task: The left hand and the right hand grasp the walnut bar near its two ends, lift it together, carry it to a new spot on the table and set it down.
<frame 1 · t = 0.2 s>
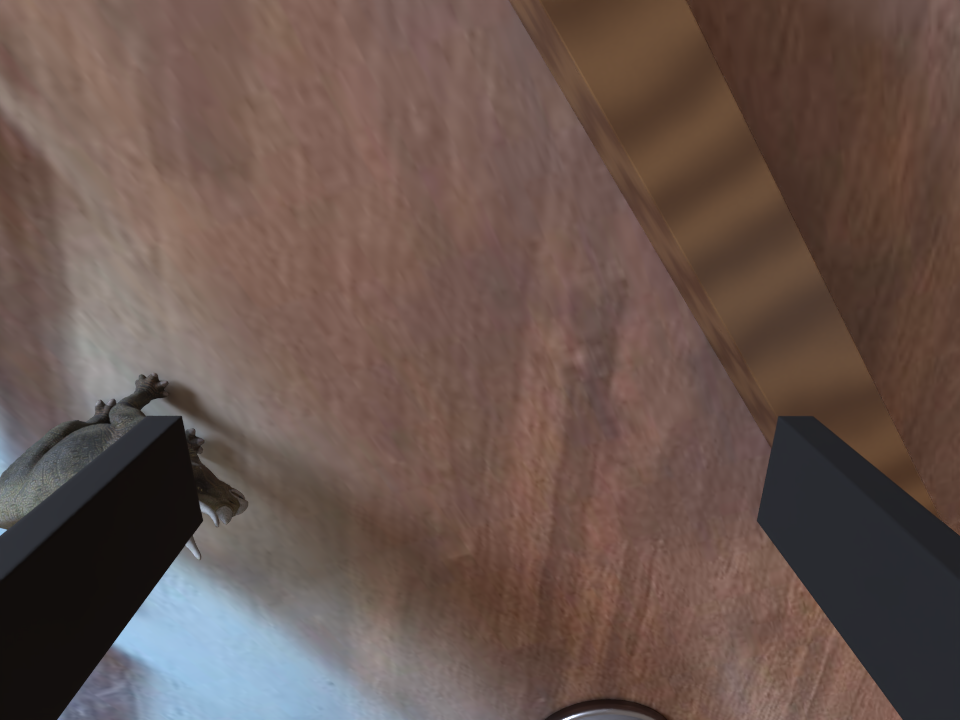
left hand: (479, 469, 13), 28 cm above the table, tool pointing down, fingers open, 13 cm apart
bar: (702, 243, 39), on the table
toy dinosaur: (132, 427, 44), on the table
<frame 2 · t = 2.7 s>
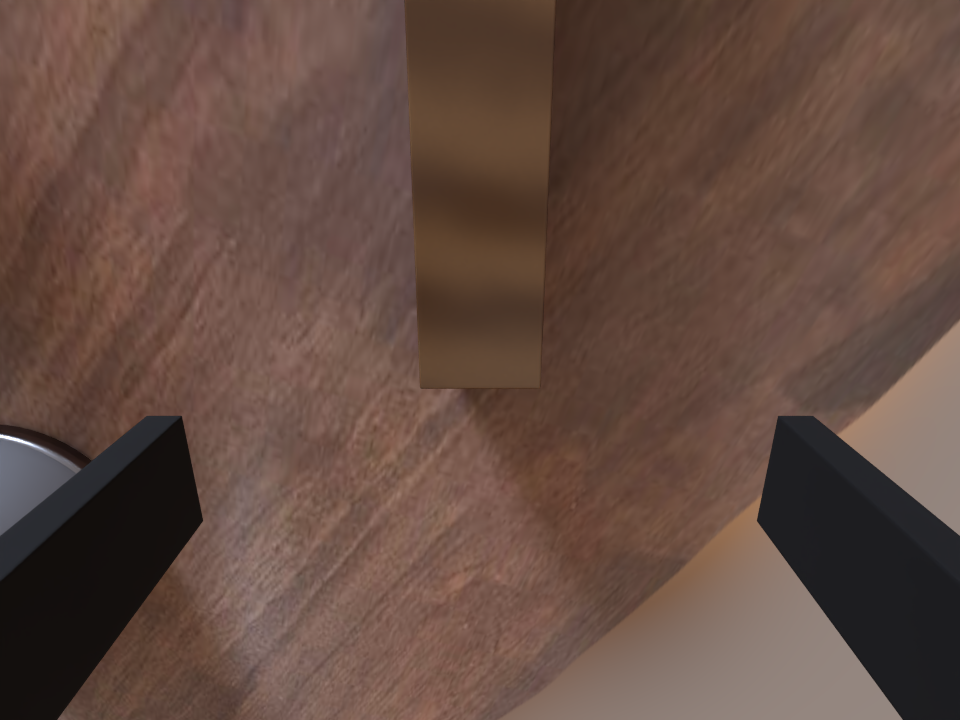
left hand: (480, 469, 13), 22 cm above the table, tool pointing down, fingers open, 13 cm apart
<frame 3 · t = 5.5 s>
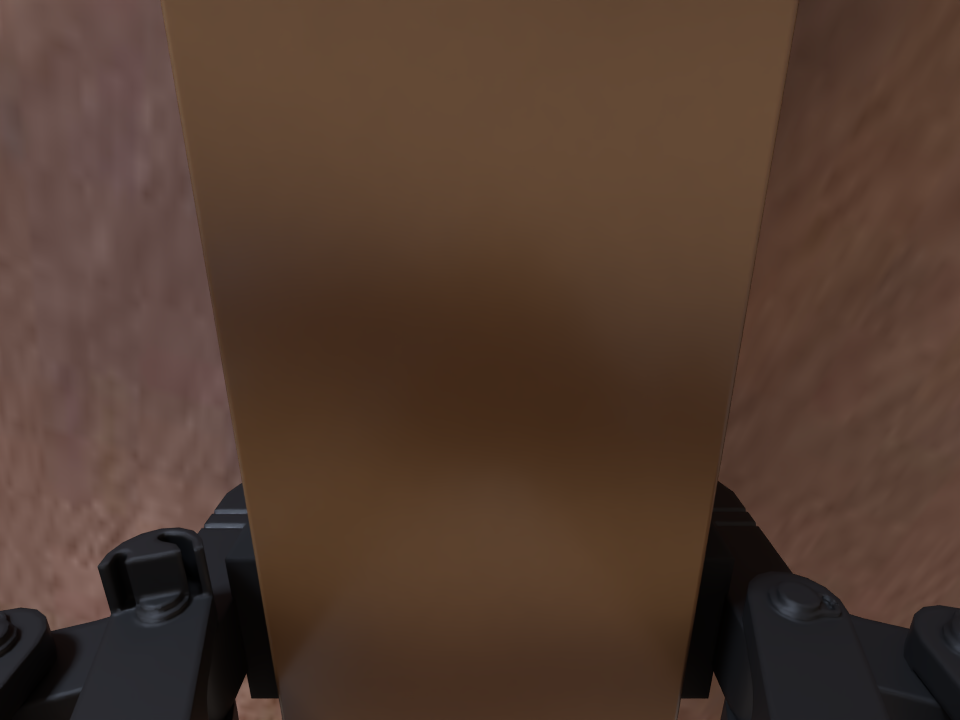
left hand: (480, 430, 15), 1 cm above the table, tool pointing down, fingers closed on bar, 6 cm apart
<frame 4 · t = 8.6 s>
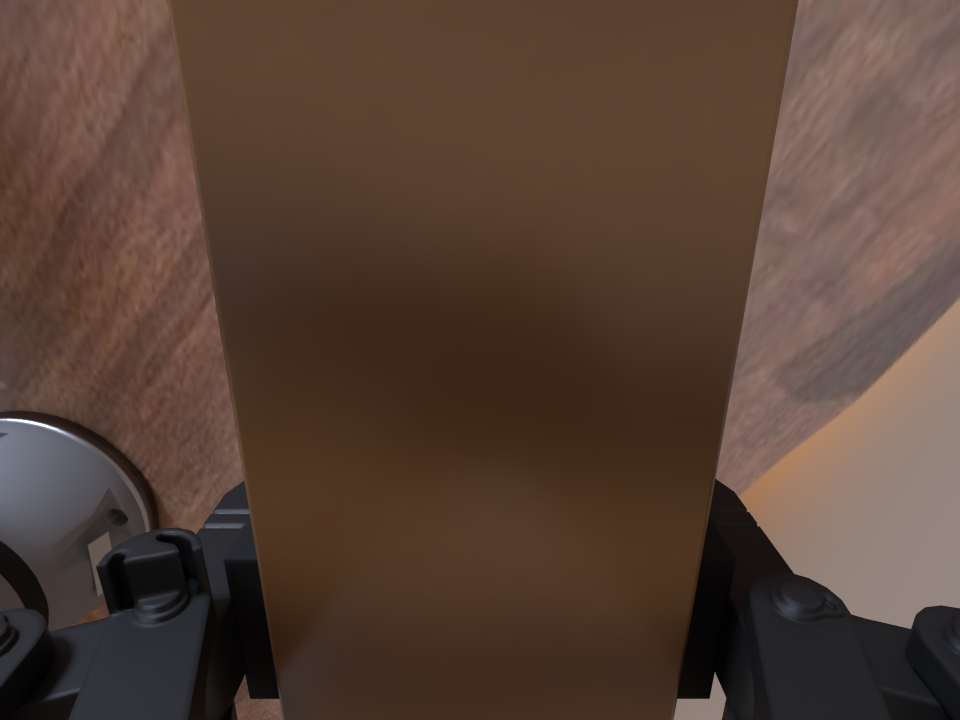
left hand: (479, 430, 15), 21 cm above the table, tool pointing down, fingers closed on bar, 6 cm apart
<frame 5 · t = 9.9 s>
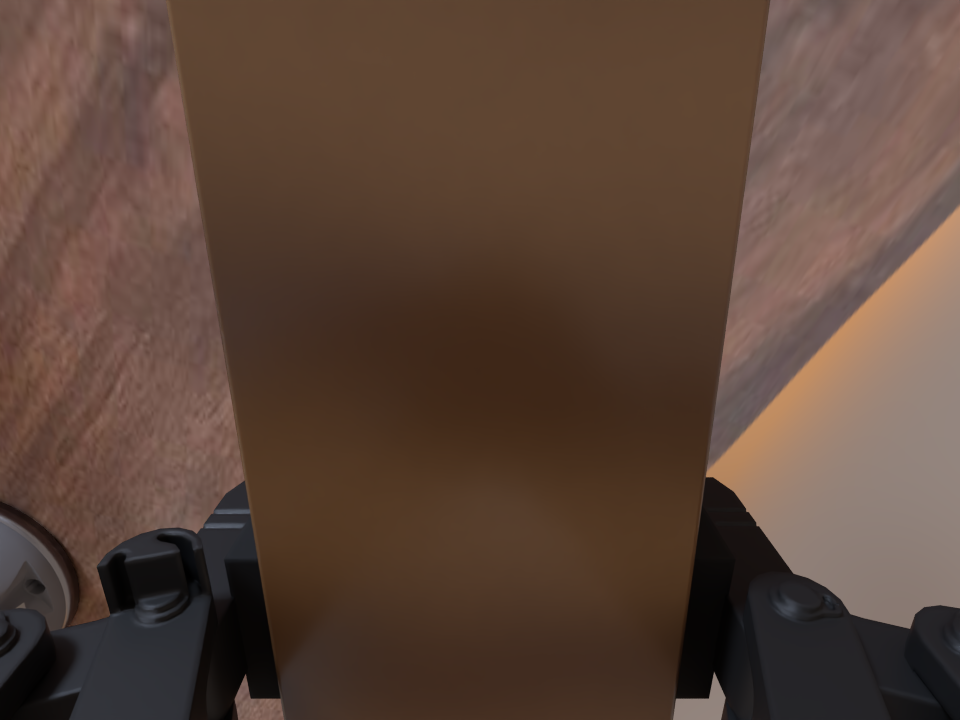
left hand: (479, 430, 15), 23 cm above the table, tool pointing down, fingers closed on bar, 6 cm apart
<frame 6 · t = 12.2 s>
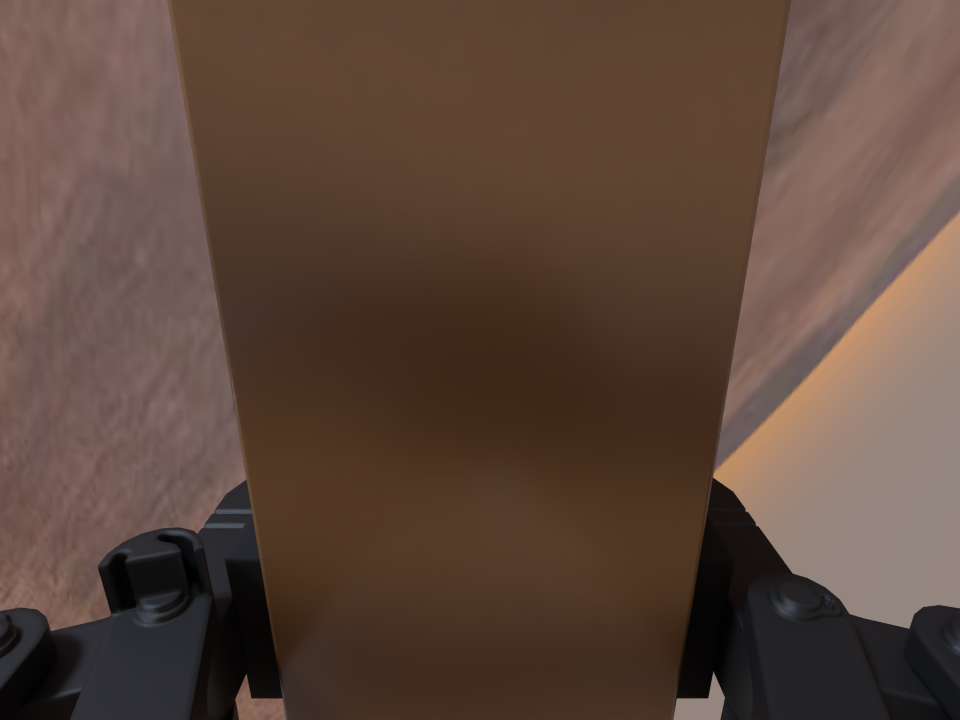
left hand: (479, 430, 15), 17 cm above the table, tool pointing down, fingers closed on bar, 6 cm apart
when the left hand's fingers open (2 cm above the table, at t = 14.3 s): bar drops 1 cm, on the table.
when the right hand's fingers open (2 cm above the table, at t = 14.3 s): bar drops 1 cm, on the table.
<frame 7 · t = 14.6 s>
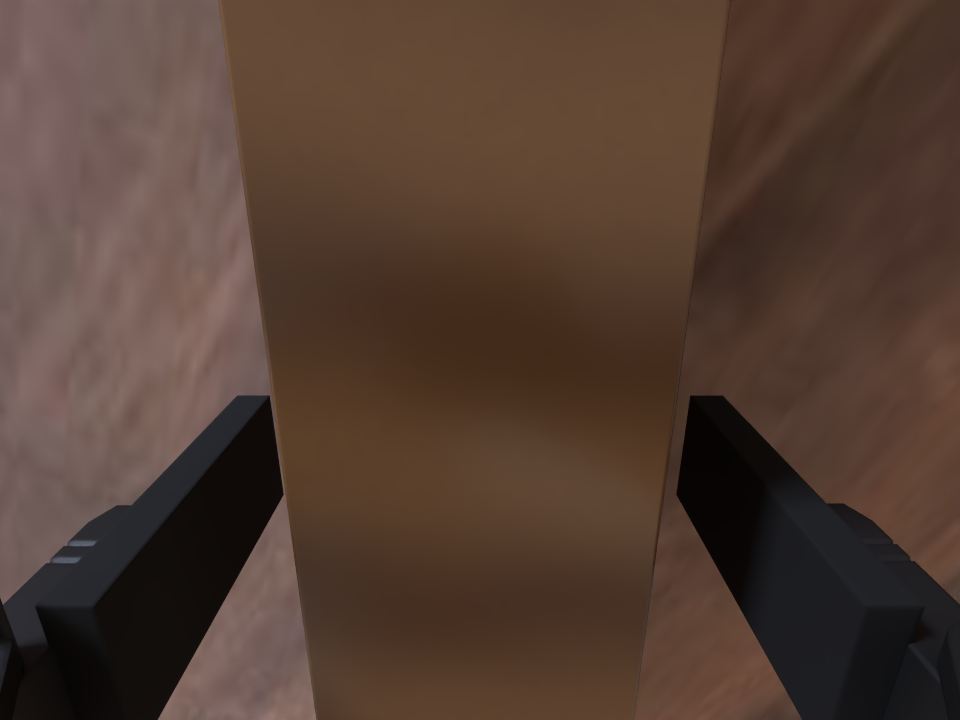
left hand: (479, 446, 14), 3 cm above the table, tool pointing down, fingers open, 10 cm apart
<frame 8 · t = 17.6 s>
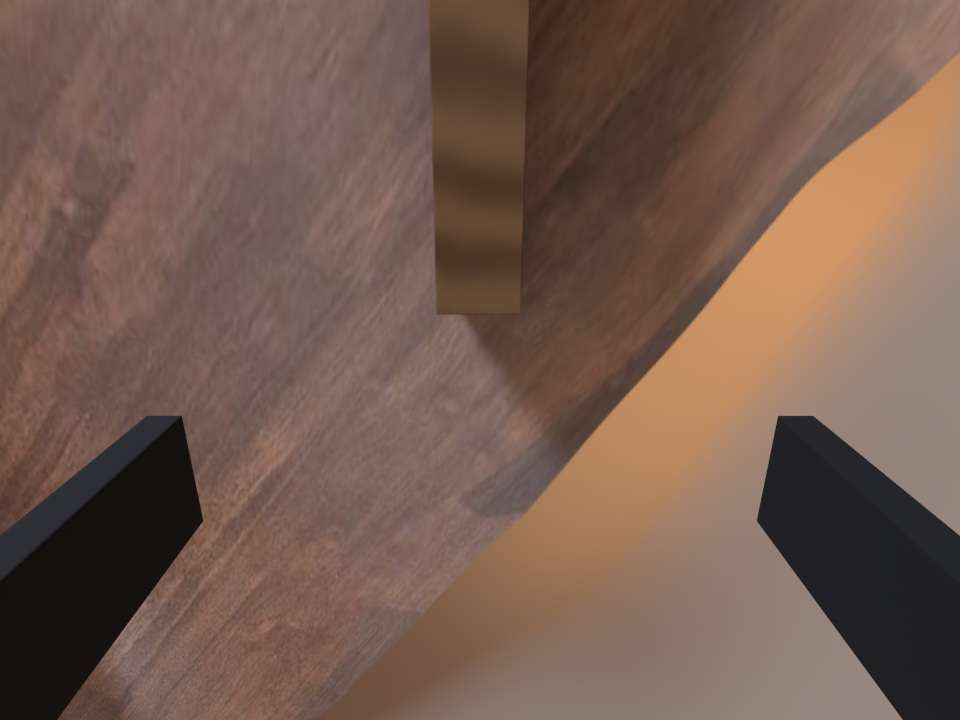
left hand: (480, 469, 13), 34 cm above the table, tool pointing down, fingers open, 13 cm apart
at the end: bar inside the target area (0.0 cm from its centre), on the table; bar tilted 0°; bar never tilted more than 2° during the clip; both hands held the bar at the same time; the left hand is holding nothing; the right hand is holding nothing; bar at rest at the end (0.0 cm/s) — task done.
